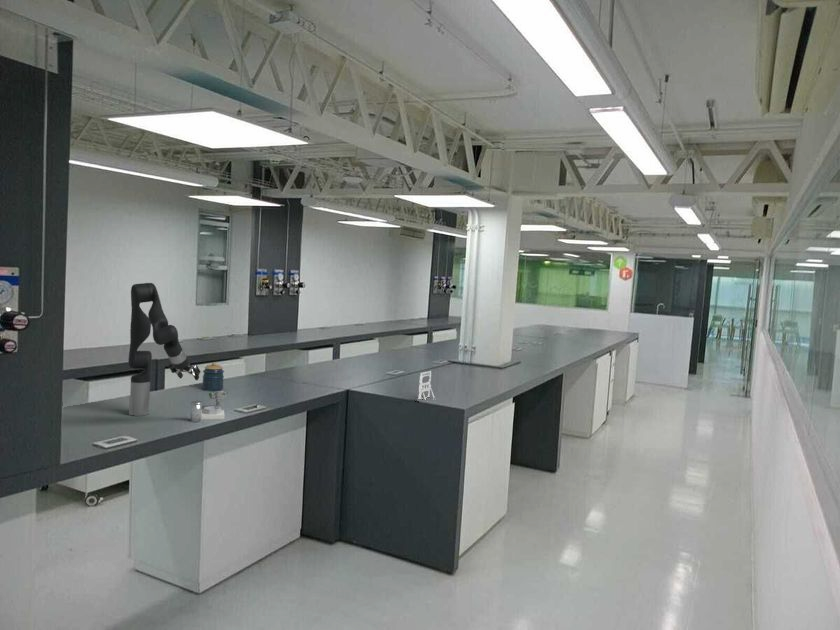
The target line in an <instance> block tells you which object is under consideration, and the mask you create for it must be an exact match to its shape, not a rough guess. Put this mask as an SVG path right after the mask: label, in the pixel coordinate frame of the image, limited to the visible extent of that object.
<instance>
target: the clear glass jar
mask: <svg viewBox="0 0 840 630" xmlns="http://www.w3.org/2000/svg"><path fill="white" fill-rule="evenodd" d="M190 404H191V407H190V422H191V423H201V422H202V419H201V412H202V408H203V405H202V404H203V401H201V400H192V401H190ZM200 421H201V422H200Z"/></svg>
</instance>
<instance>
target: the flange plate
mask: <svg viewBox="0 0 840 630" xmlns="http://www.w3.org/2000/svg"><path fill="white" fill-rule="evenodd" d="M225 416H226V415H225V410H224V409H222V407H221V406H219V407H217V406H216V405H215V406H214V405H212V406H211V405H209V406H204V407H203V410H202V412H201V420H225Z"/></svg>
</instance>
